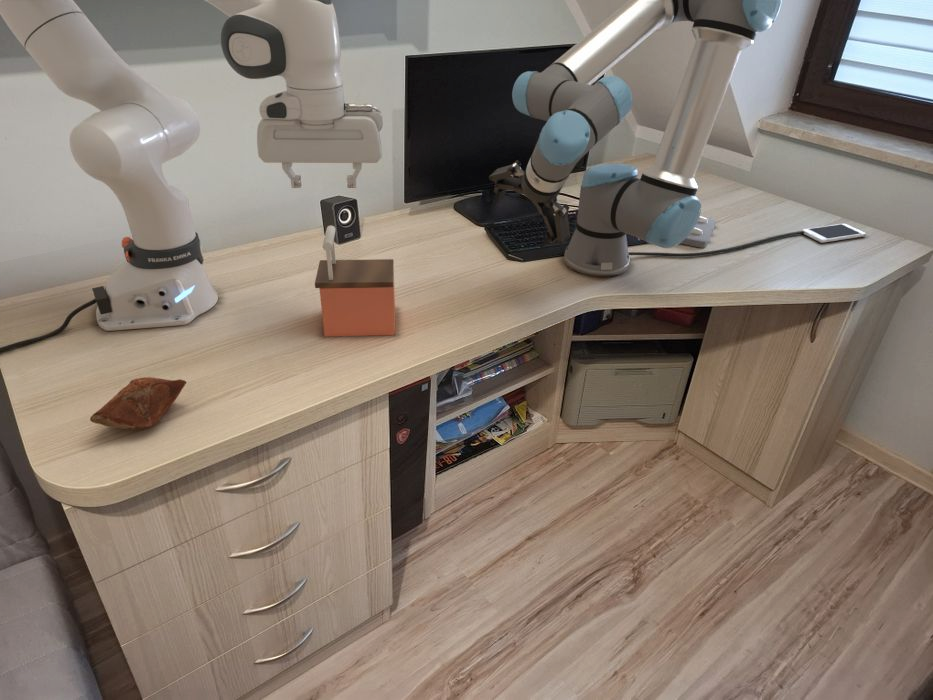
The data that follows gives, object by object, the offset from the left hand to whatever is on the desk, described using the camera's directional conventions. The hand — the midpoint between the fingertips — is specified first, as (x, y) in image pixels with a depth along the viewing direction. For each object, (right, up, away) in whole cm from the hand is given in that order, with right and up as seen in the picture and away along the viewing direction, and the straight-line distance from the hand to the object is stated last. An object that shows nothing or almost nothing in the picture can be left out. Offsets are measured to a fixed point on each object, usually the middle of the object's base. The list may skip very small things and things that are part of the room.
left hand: (324, 187), depth 110 cm
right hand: (+36, -1, +26) cm, 44 cm away
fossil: (-25, -39, -10) cm, 48 cm away
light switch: (+82, +4, +60) cm, 101 cm away
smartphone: (+123, +3, +61) cm, 137 cm away
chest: (+4, -23, +16) cm, 28 cm away
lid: (+4, -14, +10) cm, 18 cm away
